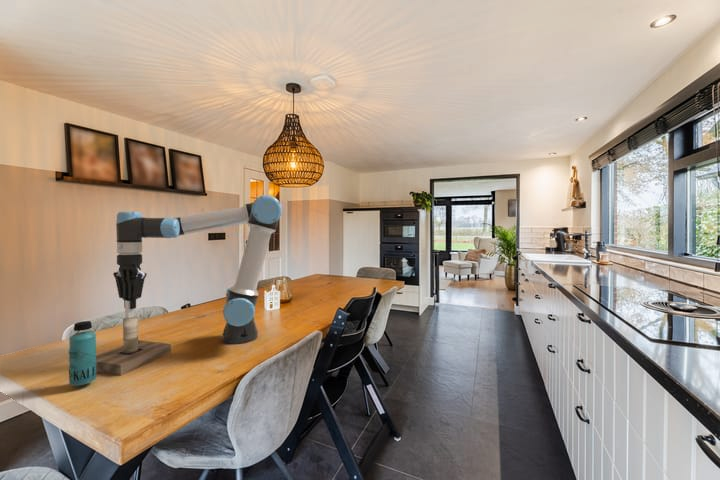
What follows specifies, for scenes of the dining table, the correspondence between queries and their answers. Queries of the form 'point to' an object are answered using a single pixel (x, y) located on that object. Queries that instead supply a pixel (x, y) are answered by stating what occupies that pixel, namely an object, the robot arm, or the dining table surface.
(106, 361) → the board
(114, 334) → the dining table surface
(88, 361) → the beverage bottle
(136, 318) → the peg
